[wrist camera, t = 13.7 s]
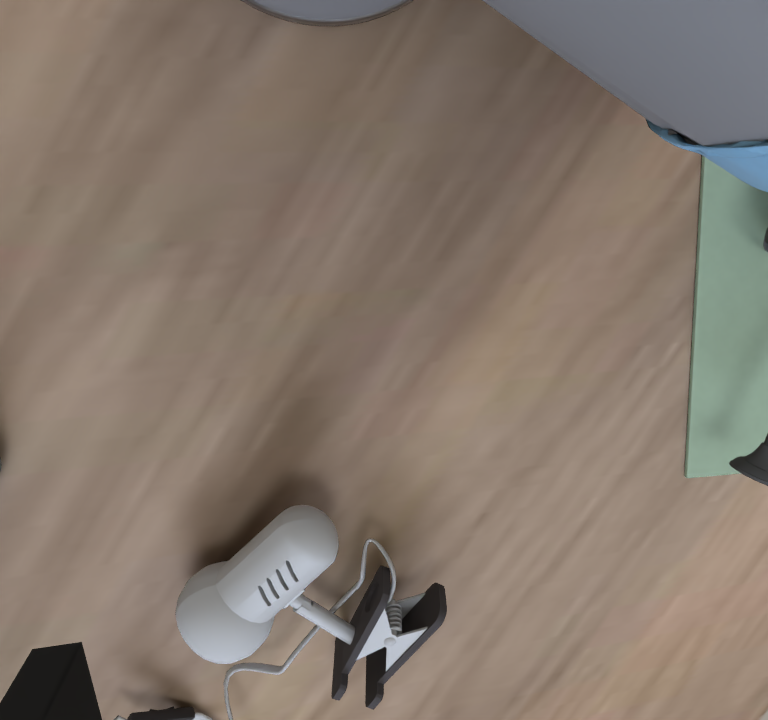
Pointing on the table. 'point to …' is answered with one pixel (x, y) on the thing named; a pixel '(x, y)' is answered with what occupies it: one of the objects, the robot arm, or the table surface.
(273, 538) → the clip-on lamp
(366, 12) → the robot arm
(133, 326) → the table surface
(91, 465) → the table surface
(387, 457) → the table surface
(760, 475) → the dark grey tree model
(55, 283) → the table surface
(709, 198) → the desk mat
